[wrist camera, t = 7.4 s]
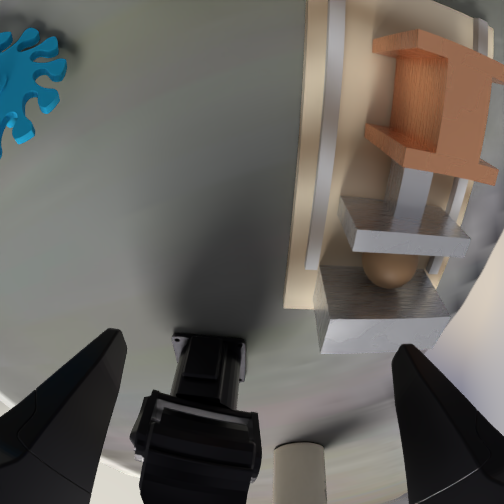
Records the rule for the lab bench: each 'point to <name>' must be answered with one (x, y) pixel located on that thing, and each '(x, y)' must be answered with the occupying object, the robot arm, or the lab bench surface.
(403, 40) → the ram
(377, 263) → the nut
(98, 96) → the lab bench surface
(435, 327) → the brushed steel block
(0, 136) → the gear
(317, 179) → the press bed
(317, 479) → the travel mug
